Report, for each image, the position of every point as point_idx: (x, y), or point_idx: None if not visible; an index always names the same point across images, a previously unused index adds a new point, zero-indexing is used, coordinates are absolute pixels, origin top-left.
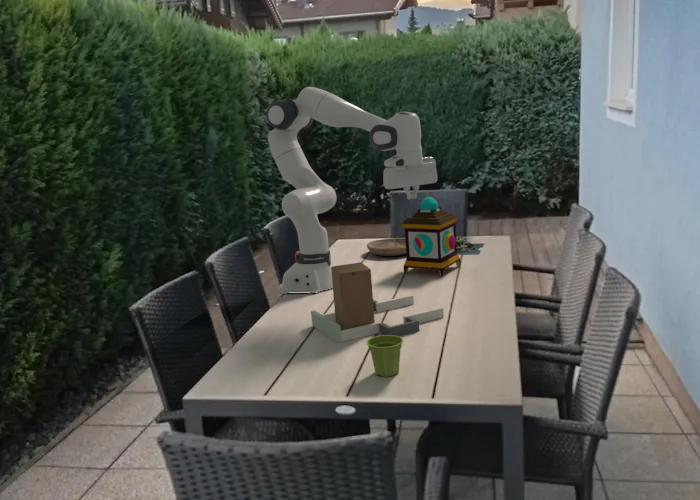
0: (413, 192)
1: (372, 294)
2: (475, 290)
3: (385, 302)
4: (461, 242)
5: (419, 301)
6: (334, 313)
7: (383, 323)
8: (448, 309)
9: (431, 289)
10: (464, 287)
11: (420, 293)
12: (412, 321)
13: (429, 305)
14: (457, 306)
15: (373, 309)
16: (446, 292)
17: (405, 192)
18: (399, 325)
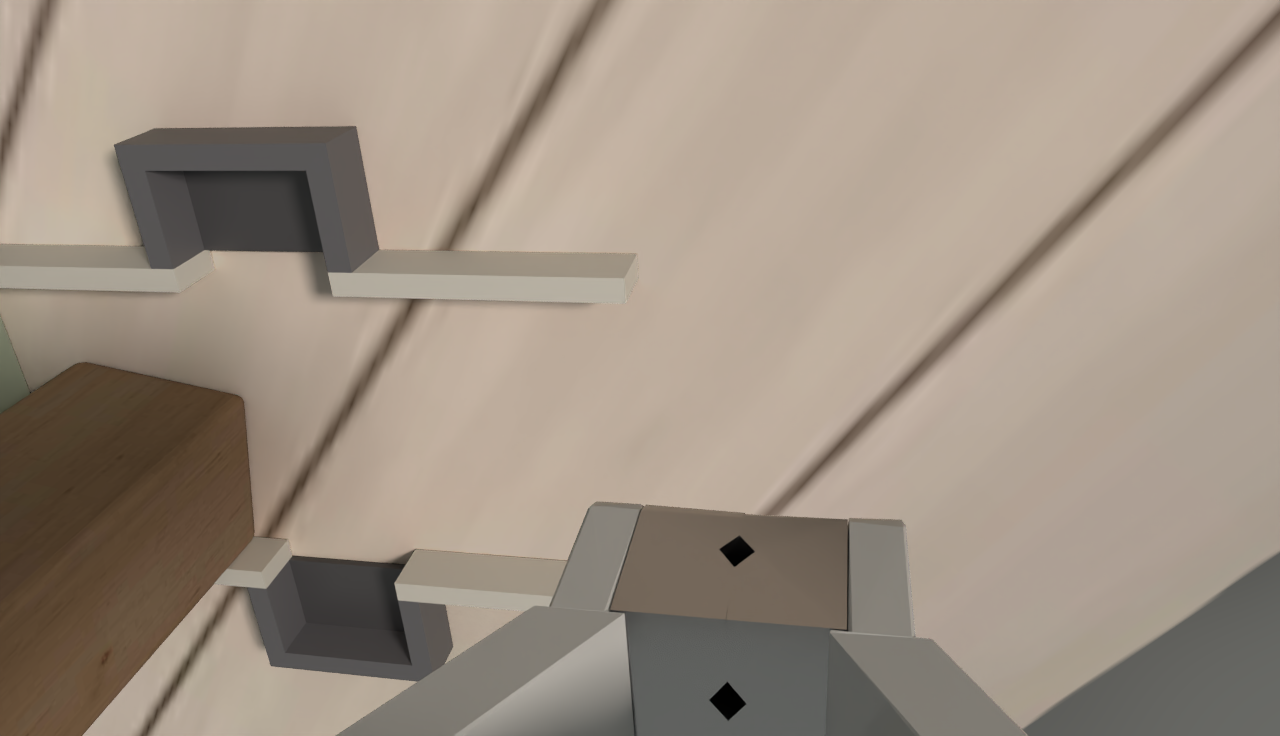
0: (848, 715)
1: (127, 682)
2: (1233, 297)
3: (397, 295)
4: None
5: (704, 250)
6: (44, 288)
7: (266, 602)
8: (760, 505)
9: (985, 16)
10: (1247, 163)
11: (832, 65)
12: (405, 668)
13: (711, 370)
14: (843, 498)
15: (183, 618)
16: (1017, 187)
17: (463, 657)
18: (328, 669)
